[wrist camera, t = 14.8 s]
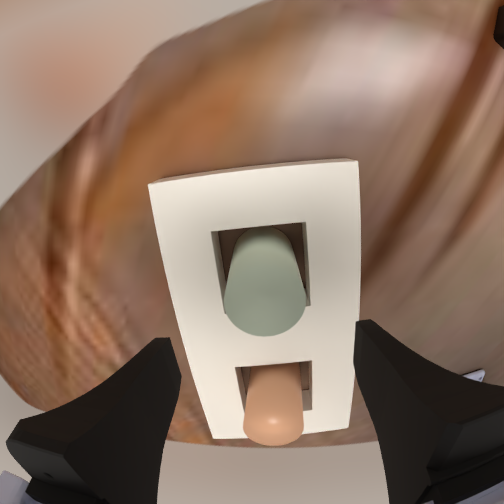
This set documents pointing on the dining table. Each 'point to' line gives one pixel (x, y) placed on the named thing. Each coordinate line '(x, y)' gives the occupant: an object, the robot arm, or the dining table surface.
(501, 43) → the multiport hub
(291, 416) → the peg terracotta
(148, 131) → the dining table surface
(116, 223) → the dining table surface
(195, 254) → the white flat block
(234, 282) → the peg sage
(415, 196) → the dining table surface
